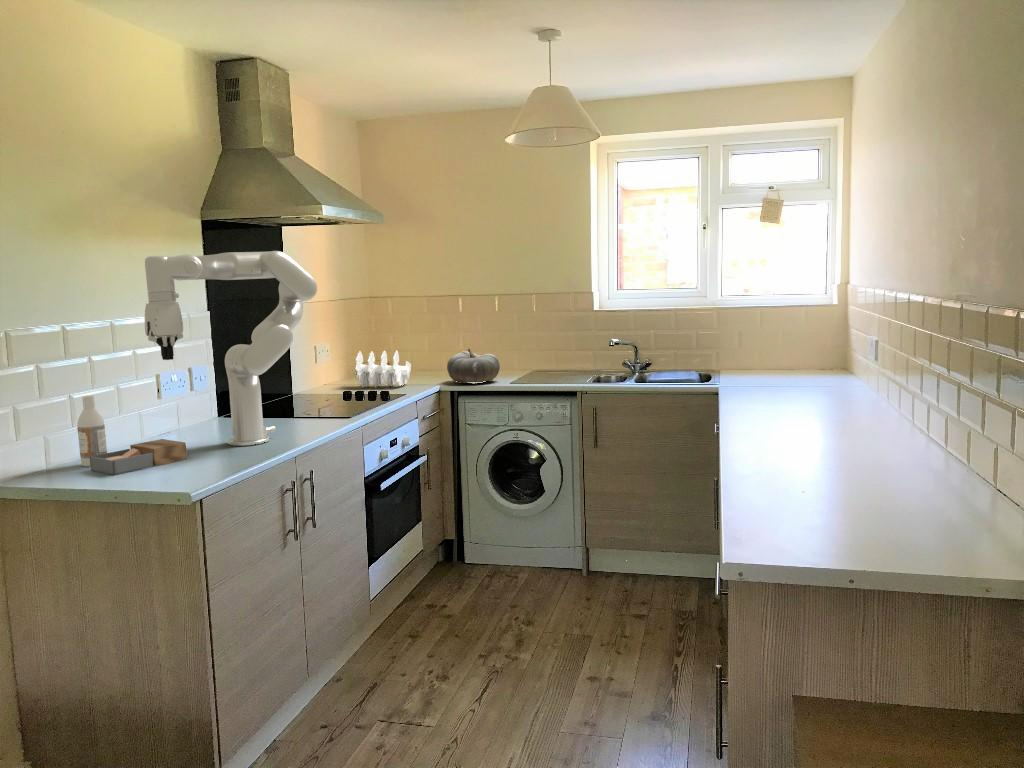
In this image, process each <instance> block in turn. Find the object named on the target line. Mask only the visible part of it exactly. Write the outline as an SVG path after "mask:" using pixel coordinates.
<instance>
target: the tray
mask: <svg viewBox="0 0 1024 768" xmlns="http://www.w3.org/2000/svg"><path fill="white" fill-rule="evenodd" d="M129 450H131V448H126V449H122V450H116V451H112V452H111V451H110V452H107V453H105V454H100V455H95V456H90V465H91V467H90V471H92V472H96V473H102V474H105V475H111V476H118V475H122V474H126V473H131V472H136V471H141V470H144V469H149V468H154V467H155V466H154V465H153V454H152V453H147V454H142V455H138V456H133V457H128V458H123V459H118V460H108V459H105V458H110V457H115V456H122V455H123V454H125V453H126V452H128V451H129Z"/></svg>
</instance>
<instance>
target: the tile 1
mask: <svg viewBox="0 0 1024 768" xmlns="http://www.w3.org/2000/svg"><path fill="white" fill-rule="evenodd" d="M138 455H141V453H140V452H139V450H137V449H134V448H133V449H131V448H130V450H129V451H128V452H126V453H125V454H123V455H122V457H126V458H128V457H133V456H138Z"/></svg>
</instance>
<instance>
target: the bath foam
mask: <svg viewBox="0 0 1024 768" xmlns="http://www.w3.org/2000/svg"><path fill="white" fill-rule="evenodd" d="M82 407H83V410H82V411H81V413H80V415H79V417H78V419H77V425H76V426H77V428H76V429H77V436H78V437H77V438H78V446H79V447H78V449H79V455H80V457H79V458H80V462H81V463H80V464H81V466H82V467H85V468H86V467H90V468H91V465H90V456H95V455H100V454H105V453H108V447H107V437H106V436H107V435H106V424H105V421H104V419H103V416H102V415H101V413H100V412H99V411H98V410H97V409H96V406H95V397H94V395H84V396H82Z"/></svg>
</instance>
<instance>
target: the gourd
mask: <svg viewBox="0 0 1024 768" xmlns="http://www.w3.org/2000/svg"><path fill="white" fill-rule="evenodd" d="M446 365H447V366H446V367H447V368H446V369H447V374H448V376H449V377H450V378H451V380H452V381H454V382H455V381H457V382H483V381H489V382H491V381H493V380H494V379H496V378H497V377H498V374H499V372H500V370H501V369H500V367H501V365H500V361H499V359H498V356H497V355H495V354H491V353H485V354H483V355H480V354H477V353H474V352H473V351H471V349H470V348H467V351H466V350H463V351H461V352H459V353H457V354H453V355H452V356H451V357H450V358H449V359H448V361H447V364H446ZM490 380H491V381H490ZM457 382H456V383H457Z"/></svg>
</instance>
